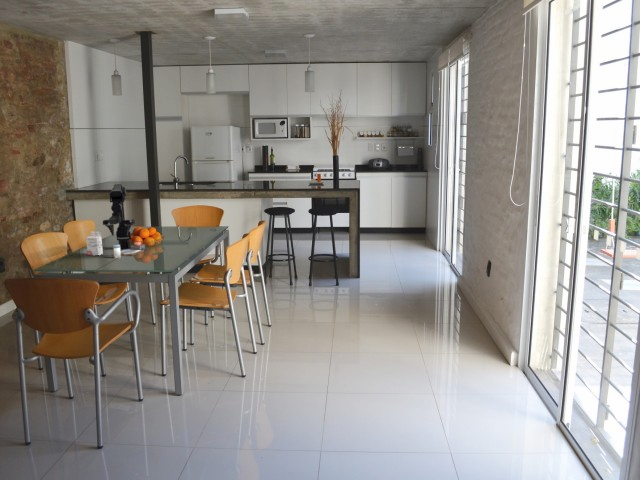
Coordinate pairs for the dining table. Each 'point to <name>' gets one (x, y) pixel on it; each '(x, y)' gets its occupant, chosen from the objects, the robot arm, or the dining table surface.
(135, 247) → the button housing
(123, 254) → the picture board
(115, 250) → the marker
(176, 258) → the dining table surface
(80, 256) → the dining table surface
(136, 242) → the button
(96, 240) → the ink cartridge box
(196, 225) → the dining table surface
